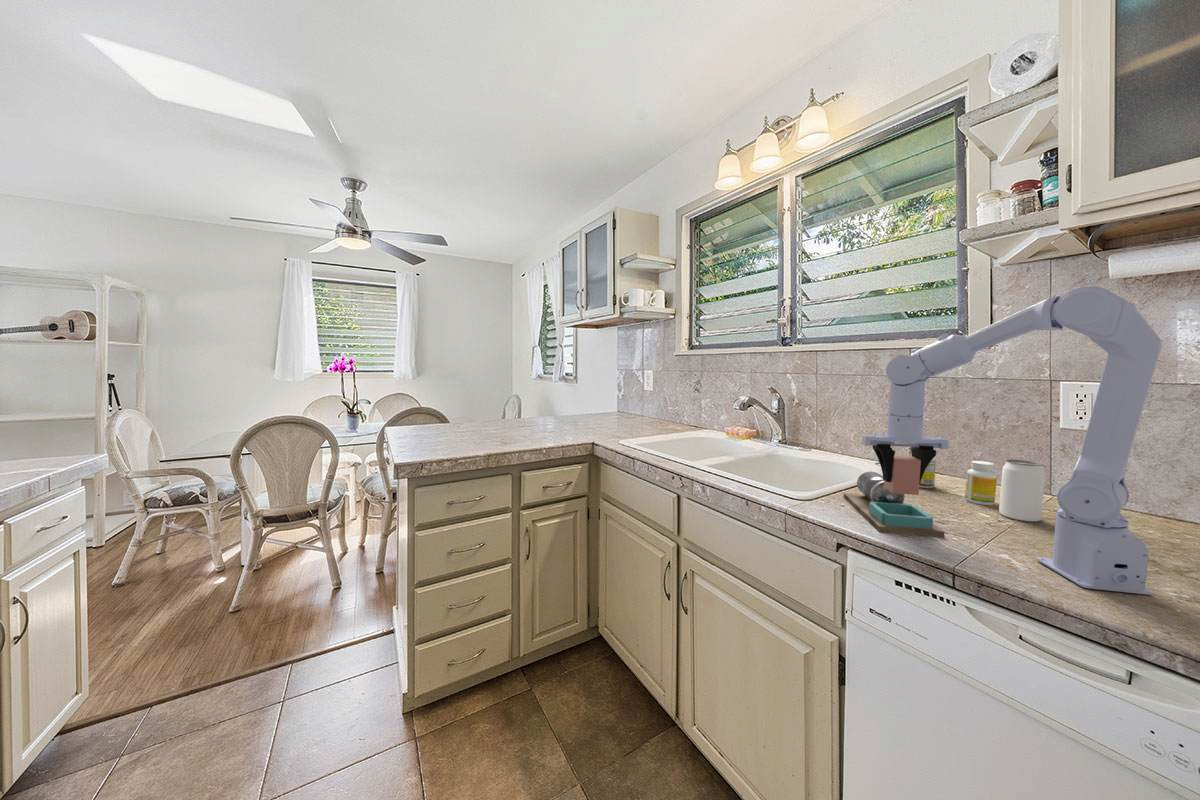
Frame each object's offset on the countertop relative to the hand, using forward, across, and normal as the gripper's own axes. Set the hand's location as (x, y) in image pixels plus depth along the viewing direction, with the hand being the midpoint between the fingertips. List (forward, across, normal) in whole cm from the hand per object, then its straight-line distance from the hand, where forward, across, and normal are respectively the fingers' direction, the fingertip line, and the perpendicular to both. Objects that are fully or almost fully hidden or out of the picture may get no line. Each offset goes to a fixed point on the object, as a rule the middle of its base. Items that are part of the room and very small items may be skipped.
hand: (901, 481), depth 86 cm
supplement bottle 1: (+9, -18, -33) cm, 39 cm away
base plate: (+9, 0, -6) cm, 11 cm away
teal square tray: (+9, 0, 0) cm, 9 cm away
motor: (+8, 0, -10) cm, 13 cm away
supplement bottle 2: (+9, -25, -21) cm, 34 cm away
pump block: (+2, 0, 0) cm, 2 cm away
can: (+9, -27, -11) cm, 31 cm away
